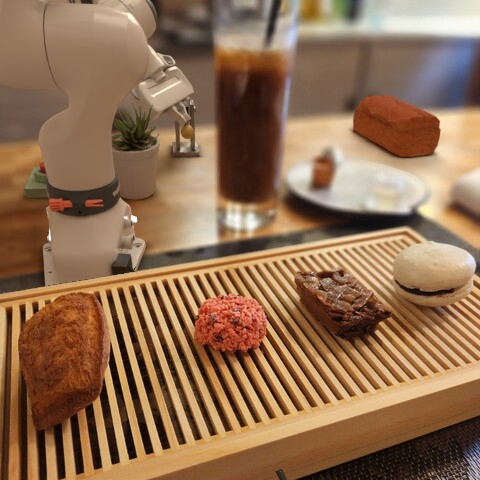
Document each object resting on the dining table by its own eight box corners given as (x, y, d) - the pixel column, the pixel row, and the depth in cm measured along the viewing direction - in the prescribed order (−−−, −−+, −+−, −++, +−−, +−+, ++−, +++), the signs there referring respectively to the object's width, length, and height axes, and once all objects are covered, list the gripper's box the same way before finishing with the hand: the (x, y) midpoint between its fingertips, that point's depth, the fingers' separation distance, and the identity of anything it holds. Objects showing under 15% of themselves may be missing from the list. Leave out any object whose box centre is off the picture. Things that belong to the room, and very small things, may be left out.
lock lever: (194, 141, 113) (194, 128, 111) (181, 141, 112) (180, 128, 110) (189, 113, 124) (189, 100, 121) (177, 113, 123) (177, 100, 121)
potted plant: (107, 208, 101) (92, 112, 88) (107, 182, 111) (94, 92, 98) (165, 205, 103) (159, 110, 90) (160, 179, 113) (154, 91, 100)
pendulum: (199, 156, 126) (198, 106, 118) (173, 156, 125) (170, 106, 117) (197, 145, 132) (196, 97, 124) (172, 146, 131) (169, 97, 123)
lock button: (58, 174, 105) (56, 167, 103) (39, 175, 104) (37, 167, 103) (60, 167, 108) (59, 160, 106) (42, 168, 107) (40, 160, 106)
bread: (386, 124, 153) (394, 90, 146) (440, 153, 135) (452, 115, 128) (346, 128, 148) (352, 93, 142) (396, 159, 130) (407, 120, 123)
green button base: (72, 196, 104) (69, 180, 102) (26, 198, 103) (21, 181, 100) (78, 175, 113) (75, 159, 111) (36, 176, 112) (31, 159, 109)
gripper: (131, 73, 98) (175, 127, 102) (174, 55, 113) (211, 103, 117) (115, 92, 102) (158, 144, 106) (159, 73, 117) (196, 119, 121)
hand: (186, 122), depth 111 cm, fingers closed
